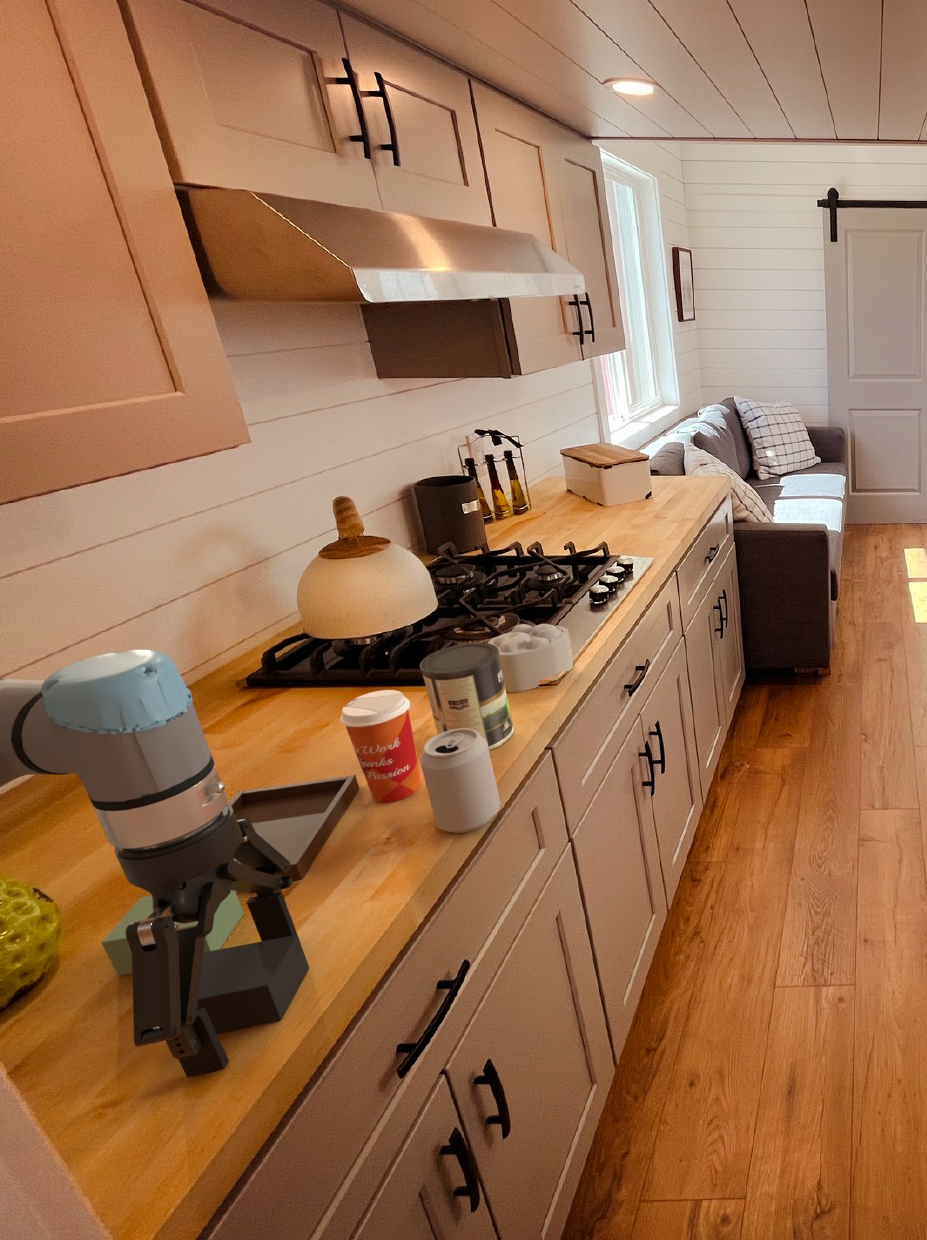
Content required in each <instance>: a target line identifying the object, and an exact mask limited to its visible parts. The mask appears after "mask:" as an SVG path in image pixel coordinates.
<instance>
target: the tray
mask: <svg viewBox="0 0 927 1240" xmlns="http://www.w3.org/2000/svg"><path fill="white" fill-rule="evenodd" d="M359 790H360V786H359V782H358V778H357V775H356V774H352V775H345V776H338V777H332V778H324V779H318V780H316V779H315V780H310V781H302V782H296V783H289V784H282V785H275V786H268V787H267V786H266V787H260V788H259V787H258V788H254V789H245V790H239V791H237V792H236V793H235V794H234V795H233V796H232V798H230V800H228V801H227V803H228V804H229V805H231V807H232V809H233V811H234V814H235V816H236V819H237V820H241V819H249V820H250V822H251V824H252V826H253V828H254V830H255V832H256V833H257V834H258V835H259V836H260V837H262V838H263V839H264V840H265V841H266V842H267V843H269V844H270V845H271V846H272V847H273V848H274V849H276V850H277V851H278V852H279V853H280V854H281V855H283V856H284V857H285V858H286V859H287V860H289V862H290V868H289V870H288V872H284V873H282V876H281V877H285V876H291V877H292V882H293V881H301V880H303V879H304V877H305V875H306V874H307V872H308V870H309V869H310V867H311V866H312V865H313V863H314V861H315V860H316V858H317V857H318V855H319V853H320V852H321V851H322V849H323V847H324V845H325V844H326V842H327V840H328V839H329V838H330V836H331V834H332V833H333V831H334V829H336V826H337V825H338V823H339V822H340V820H341V818H342V817H343V816H344V814H345V812H346V811H347V809H348V807H349V806H350V805H351V802H352V801H353V800H354V798H355V797H356V795H357V794H358V792H359ZM234 861H237V860H236V859H235V858H234ZM237 862H239V861H237ZM239 864H241V863H240V862H239Z"/></svg>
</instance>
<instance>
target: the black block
mask: <svg viewBox="0 0 927 1240" xmlns="http://www.w3.org/2000/svg"><path fill="white" fill-rule="evenodd" d="M298 937H299V935H293V936H288V937H283V938H277V939H272V940H267V941H261V940H260V941H257V942H251V943H245V944H241V945H236V946H235V945H234V946H230V947H225V948H220V949H219V950H213V951H208V952H203V960H202V969H201V978H200V987H199V995H198V1004H197V1010H199V1009H204V1008H205V1009H206V1011H207V1013H208V1016H209V1018H210V1020H211V1022H212V1024H213V1027H214V1029H215V1031H216V1033H217V1035H218V1034H223V1033H228V1032H233V1031H237V1030H238V1031H239V1030H241V1029H247V1028H252V1027H257V1026H261V1025H265V1024H271V1023H274V1022H279V1021H282V1020H283V1018H284V1016H285V1014H286V1012H287V1010H288V1009H289V1007H290V1005H291V1003H292V1001H293V999H294V998H295V996H296V994H297V992H298V990H299V988H300V986H301V984H302V982H303V981H304V979H305V977H306V975H307V974H308V972H309V970H310V965H309V963H308V960H307V957H306V954H305V952H304V948H303V946H302V943H301V940H300V937H299V938H298Z"/></svg>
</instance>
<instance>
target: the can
mask: <svg viewBox="0 0 927 1240" xmlns="http://www.w3.org/2000/svg"><path fill="white" fill-rule="evenodd" d="M422 750H423V752H422V754H421V756H420V758H419V762H420V767H421V770H422V774H423V778H424V782H425V786H426V790H427V793H428V798H429V802H430V805H431V810H432V814H433V817H434V821H435V825H436V827H437V828H438V829H440V830H441V831H444V832H449V833H453V834H462V833H466V832H467V833H468V832H471V831H474V830H477V829H479V828H481V827H484V826H485V825H486V824H487V823H488V822H490V821H491V820H492V818H493V817H494V816H496V814H497V813H498V811H499V810H500V808H501V799H500V795H499V790H498V785H497V781H496V780H497V779H496V776H495V772H494V767H493V762H492V758H491V754H490V750H489V748H488V744H487V741H486V739H484V738H482V737H481V736H480V734H479V732H478V731H476V730H474V729H469V728H460V729H453V730H449V731H446V732H443V733H441V734H438V733H437V734H436V735H435V736H433V737H431V738H430V739H428V741H426V743H425V744H424V746H423V748H422Z"/></svg>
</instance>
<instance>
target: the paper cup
mask: <svg viewBox="0 0 927 1240" xmlns="http://www.w3.org/2000/svg"><path fill="white" fill-rule="evenodd" d="M410 708H411V702H410V699H408V698H407V697H406V696H404V694H403V693H402V692H401V691H399V690H395V689H384V690H376V691H372V692H368V693H364V694H361V695H359V696H357V697H355V698H354V699H353V700H350V702H348V703H347V704H346V705H345V706H343V708H342V710H341V715H340V719H339V721H340V723H341V724H342V725H343V726H344V727H345V729H346V731H347V734H348V737H349V739H350V742H351V744H352V748H353V750H354V753H355V755H356V757H357V761H358V763H359V765H360V768H361V771H362V774H363V776H364V778H365V780H366V783H367V786H368V789H369V791H370V794H371V795H372V797H373V799H374V801H376V802H378V803H380V804H381V803H383V804H387V803H395V802H399V801H401V800H404V799H406V798H408V797H410V796H411V795H413V794H415V793H416V792H417V791H418V790H419V789H420V787H421V775H420V769H419V762H418V756H417V752H416V745H415V740H414V734H413V733H414V732H413V728H412V723H411V717H410V711H409V710H410Z"/></svg>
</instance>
